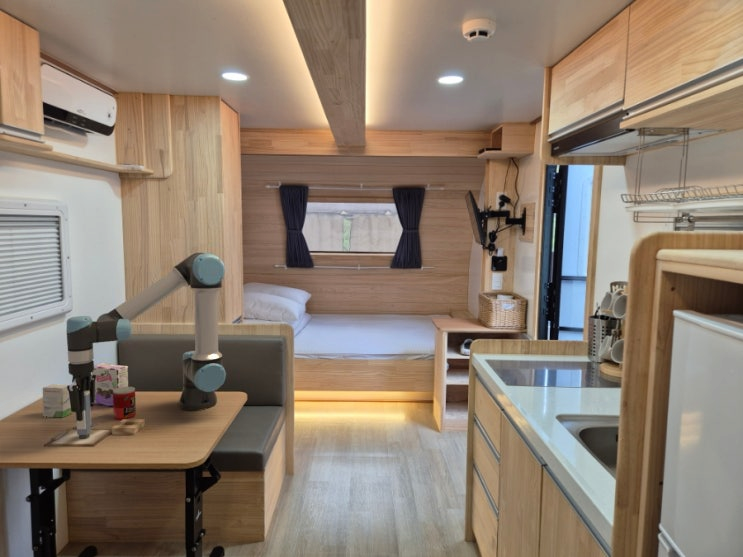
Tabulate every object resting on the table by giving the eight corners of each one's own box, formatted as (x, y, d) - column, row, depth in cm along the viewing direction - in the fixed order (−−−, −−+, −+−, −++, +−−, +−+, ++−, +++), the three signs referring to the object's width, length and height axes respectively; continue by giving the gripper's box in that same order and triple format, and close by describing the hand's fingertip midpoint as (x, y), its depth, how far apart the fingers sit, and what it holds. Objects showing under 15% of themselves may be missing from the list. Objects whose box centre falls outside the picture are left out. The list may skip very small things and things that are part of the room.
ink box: (42, 417, 185) (41, 387, 184) (52, 412, 190) (51, 383, 189) (63, 418, 184) (61, 388, 183) (72, 413, 189) (71, 384, 188)
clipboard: (114, 430, 173) (114, 427, 173) (94, 446, 160) (93, 443, 160) (67, 430, 173) (67, 427, 173) (43, 446, 160) (43, 442, 160)
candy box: (92, 404, 200) (90, 366, 198) (103, 399, 205) (102, 362, 204) (118, 407, 196) (117, 369, 194) (129, 403, 201) (128, 365, 200)
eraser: (91, 436, 167) (89, 390, 165) (87, 438, 164) (85, 392, 163) (81, 435, 167) (79, 390, 165) (77, 438, 164) (75, 392, 163)
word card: (95, 424, 179) (95, 423, 179) (89, 428, 175) (89, 427, 175) (79, 424, 179) (79, 423, 178) (73, 428, 175) (73, 427, 174)
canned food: (127, 421, 182) (126, 393, 181) (109, 419, 184) (107, 391, 183) (140, 413, 190) (139, 387, 189) (123, 412, 191) (122, 385, 190)
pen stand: (144, 425, 178) (144, 419, 178) (134, 434, 170) (134, 428, 170) (123, 425, 178) (123, 419, 177) (112, 434, 170) (111, 427, 170)
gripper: (83, 355, 171) (86, 418, 173) (55, 367, 155) (59, 436, 157) (104, 355, 171) (107, 418, 173) (78, 367, 155) (82, 436, 158)
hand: (84, 426), depth 165 cm, fingers closed on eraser, 2 cm apart
